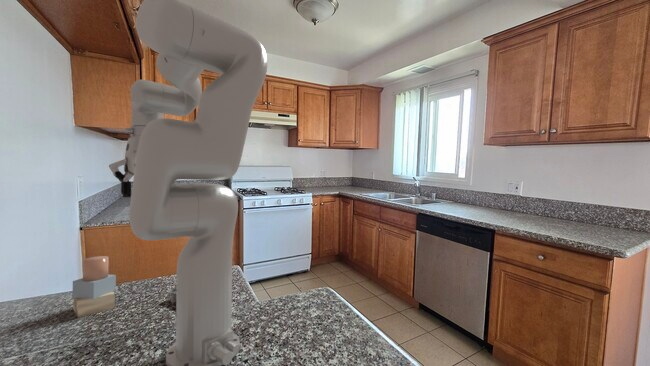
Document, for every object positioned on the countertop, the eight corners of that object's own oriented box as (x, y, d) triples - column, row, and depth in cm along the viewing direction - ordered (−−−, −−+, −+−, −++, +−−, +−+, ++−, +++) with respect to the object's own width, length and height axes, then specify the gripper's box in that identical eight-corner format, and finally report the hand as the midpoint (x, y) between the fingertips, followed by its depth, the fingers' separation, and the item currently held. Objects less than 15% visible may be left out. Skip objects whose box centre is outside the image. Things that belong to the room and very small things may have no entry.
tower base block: (114, 309, 71) (114, 293, 71) (78, 318, 66) (78, 301, 66) (107, 301, 76) (107, 286, 76) (73, 310, 70) (73, 294, 70)
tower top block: (115, 290, 73) (115, 274, 73) (93, 299, 67) (93, 282, 68) (95, 288, 74) (96, 273, 74) (72, 297, 68) (72, 281, 68)
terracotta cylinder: (110, 277, 71) (110, 258, 71) (84, 282, 67) (85, 262, 67) (106, 273, 74) (106, 255, 75) (81, 278, 71) (81, 258, 71)
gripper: (116, 127, 68) (115, 197, 68) (185, 138, 83) (184, 196, 82) (104, 131, 73) (103, 197, 72) (172, 141, 87) (172, 196, 86)
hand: (147, 196), depth 77 cm, fingers open, 9 cm apart
